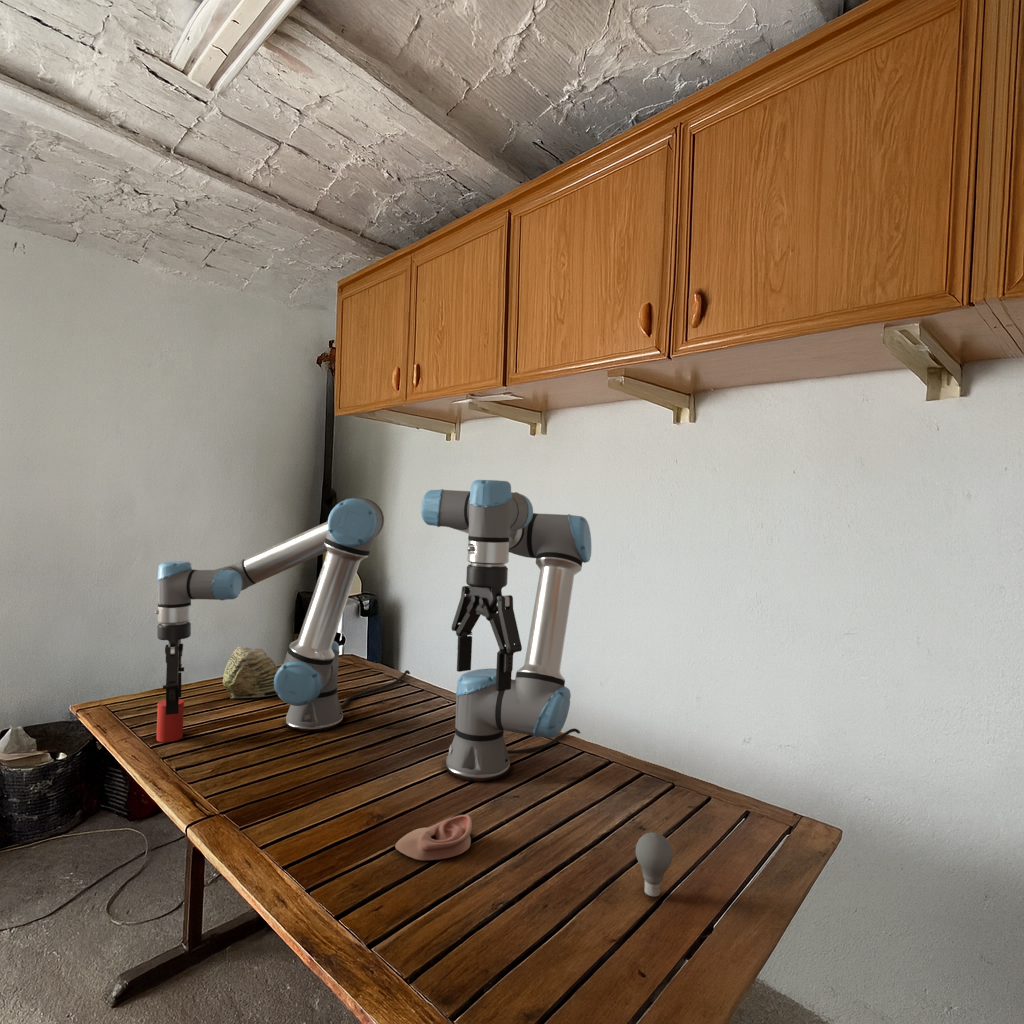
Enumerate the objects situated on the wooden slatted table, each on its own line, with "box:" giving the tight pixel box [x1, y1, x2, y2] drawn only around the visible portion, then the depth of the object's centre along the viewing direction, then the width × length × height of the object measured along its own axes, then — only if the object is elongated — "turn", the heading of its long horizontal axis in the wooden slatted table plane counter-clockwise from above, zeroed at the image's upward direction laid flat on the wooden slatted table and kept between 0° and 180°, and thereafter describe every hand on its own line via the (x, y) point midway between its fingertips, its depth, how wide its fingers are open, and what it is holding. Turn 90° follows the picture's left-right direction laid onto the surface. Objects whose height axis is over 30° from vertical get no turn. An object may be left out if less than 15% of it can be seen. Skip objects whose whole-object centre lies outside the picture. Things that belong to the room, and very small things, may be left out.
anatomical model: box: [394, 814, 473, 861], centre depth 117 cm, size 13×4×12 cm
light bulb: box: [635, 831, 674, 897], centre depth 105 cm, size 6×6×10 cm
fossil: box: [222, 646, 279, 699], centre depth 198 cm, size 9×18×15 cm, turn 132°
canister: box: [156, 698, 185, 743], centre depth 161 cm, size 6×6×9 cm
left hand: (173, 705), depth 161 cm, fingers open, 13 cm apart
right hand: (482, 679), depth 116 cm, fingers open, 13 cm apart
